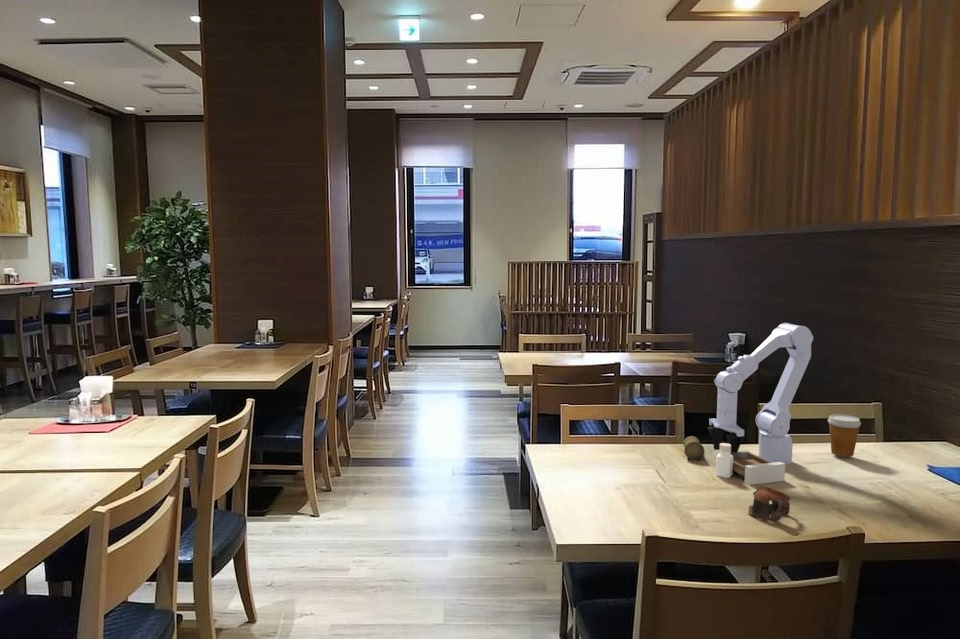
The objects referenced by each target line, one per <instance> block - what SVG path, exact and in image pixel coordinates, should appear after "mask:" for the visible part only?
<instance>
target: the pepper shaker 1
mask: <svg viewBox="0 0 960 639" xmlns="http://www.w3.org/2000/svg"><path fill="white" fill-rule="evenodd" d="M683 447H684V455H685V457H686V458H688V460H690V461H699V460H701V459H703V457H704V456H705V448H704V446H703V444H702V443H701V442H700V440H699V439H698V438H697V437H696V436H692V435H690V436H687V437H686V438H685V439H684V441H683Z"/></svg>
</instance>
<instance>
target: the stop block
mask: <svg viewBox="0 0 960 639" xmlns="http://www.w3.org/2000/svg"><path fill="white" fill-rule="evenodd" d="M785 476H786V464H784V463H782V462H774V463H764V464H755V465H746V466H745V478H744V483H745V484H747V485H748V486H751V485H759V484H760V485H761V484H769V483H770V484H771V483H777V482H784V481H785Z"/></svg>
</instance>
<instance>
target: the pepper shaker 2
mask: <svg viewBox="0 0 960 639" xmlns="http://www.w3.org/2000/svg"><path fill="white" fill-rule="evenodd" d="M718 451H719V453H718V454H717V455H716V459H715V460H716V462H715V476H716V477H719V478H723V479H730V478H731V477H732V476H733V473H734V472H733V456H732V455H730V454H731V445H730V444H728V442H727V443H726V442H722V443H721V444H720V449H719V450H718Z"/></svg>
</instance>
